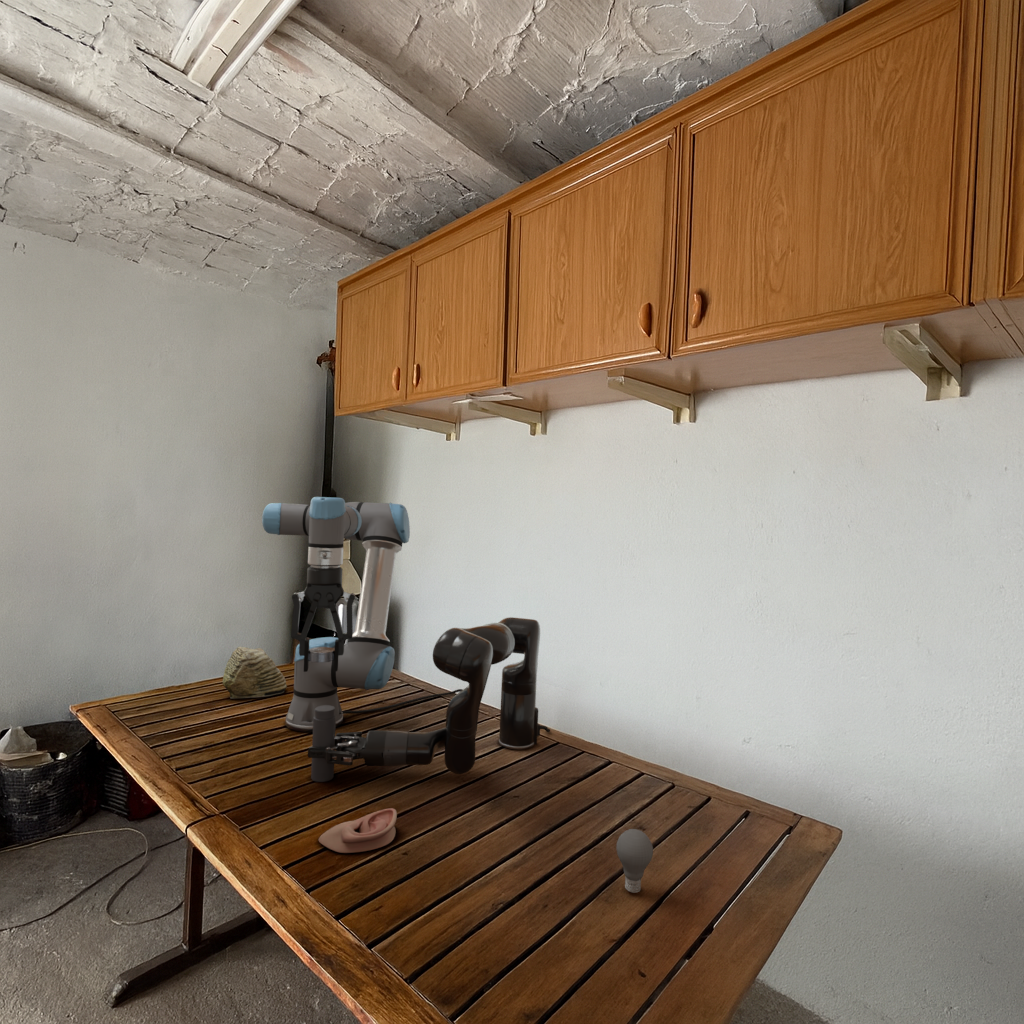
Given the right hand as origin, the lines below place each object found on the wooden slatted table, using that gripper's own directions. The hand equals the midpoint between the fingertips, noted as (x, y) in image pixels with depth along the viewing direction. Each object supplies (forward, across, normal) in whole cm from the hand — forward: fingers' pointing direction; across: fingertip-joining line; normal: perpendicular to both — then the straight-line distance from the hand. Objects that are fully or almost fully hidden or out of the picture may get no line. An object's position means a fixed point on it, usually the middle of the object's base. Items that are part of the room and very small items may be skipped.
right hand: (311, 747), depth 143 cm
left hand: (-2, +1, -18) cm, 18 cm away
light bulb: (-63, +42, +7) cm, 76 cm away
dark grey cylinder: (-3, 0, +7) cm, 7 cm away
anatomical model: (-15, +26, +7) cm, 30 cm away
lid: (-2, +1, -22) cm, 22 cm away
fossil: (+31, -58, +7) cm, 66 cm away
